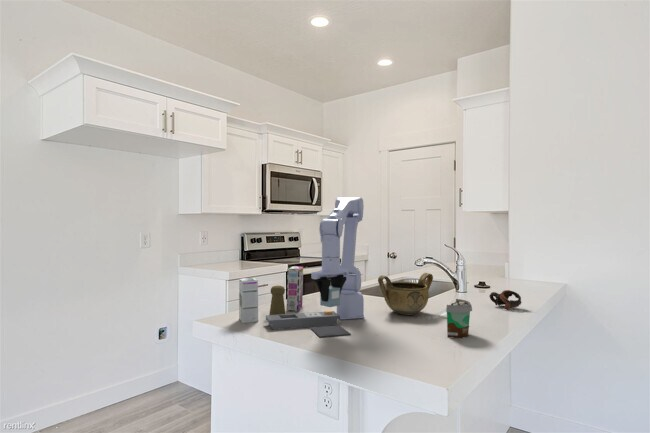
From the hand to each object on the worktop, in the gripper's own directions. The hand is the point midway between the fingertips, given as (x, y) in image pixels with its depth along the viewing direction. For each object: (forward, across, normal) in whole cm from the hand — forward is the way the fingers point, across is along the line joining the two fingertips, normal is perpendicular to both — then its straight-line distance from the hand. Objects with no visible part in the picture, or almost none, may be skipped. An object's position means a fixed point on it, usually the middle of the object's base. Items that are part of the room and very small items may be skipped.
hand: (330, 300), depth 123 cm
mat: (+10, 0, 0) cm, 10 cm away
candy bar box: (+10, -12, -33) cm, 37 cm away
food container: (+10, -28, +29) cm, 42 cm away
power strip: (+10, +1, -12) cm, 16 cm away
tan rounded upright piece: (+10, 0, -28) cm, 30 cm away
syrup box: (+10, +12, -29) cm, 33 cm away
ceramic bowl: (+10, -39, +1) cm, 41 cm away
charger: (+2, 0, 0) cm, 2 cm away
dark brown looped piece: (+10, -79, +21) cm, 82 cm away
